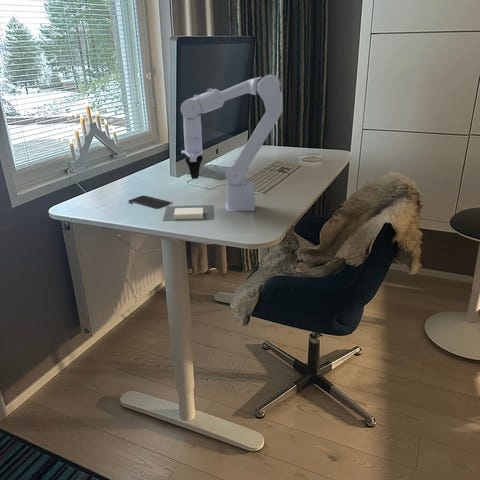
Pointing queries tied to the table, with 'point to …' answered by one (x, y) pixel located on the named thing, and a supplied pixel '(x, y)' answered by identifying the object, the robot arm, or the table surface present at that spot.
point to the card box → (188, 213)
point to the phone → (150, 202)
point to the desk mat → (207, 209)
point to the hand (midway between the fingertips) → (194, 178)
